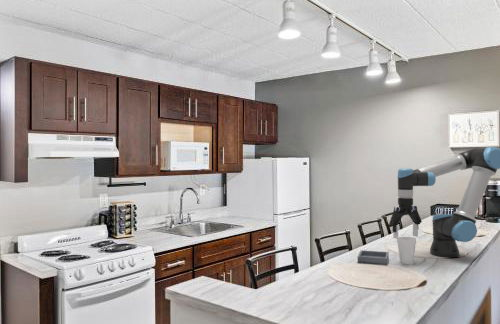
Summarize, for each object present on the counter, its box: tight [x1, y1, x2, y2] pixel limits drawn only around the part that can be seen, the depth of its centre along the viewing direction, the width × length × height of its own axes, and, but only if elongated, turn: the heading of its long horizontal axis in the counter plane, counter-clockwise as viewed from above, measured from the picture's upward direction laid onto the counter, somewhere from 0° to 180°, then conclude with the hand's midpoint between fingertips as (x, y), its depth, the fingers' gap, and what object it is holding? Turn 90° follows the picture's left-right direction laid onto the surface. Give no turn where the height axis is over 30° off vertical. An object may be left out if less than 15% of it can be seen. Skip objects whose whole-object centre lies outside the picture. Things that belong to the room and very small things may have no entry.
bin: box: [357, 250, 390, 266], centre depth 212 cm, size 15×15×4 cm
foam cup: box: [396, 236, 417, 265], centre depth 206 cm, size 10×9×13 cm
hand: (405, 237), depth 206 cm, fingers open, 13 cm apart
